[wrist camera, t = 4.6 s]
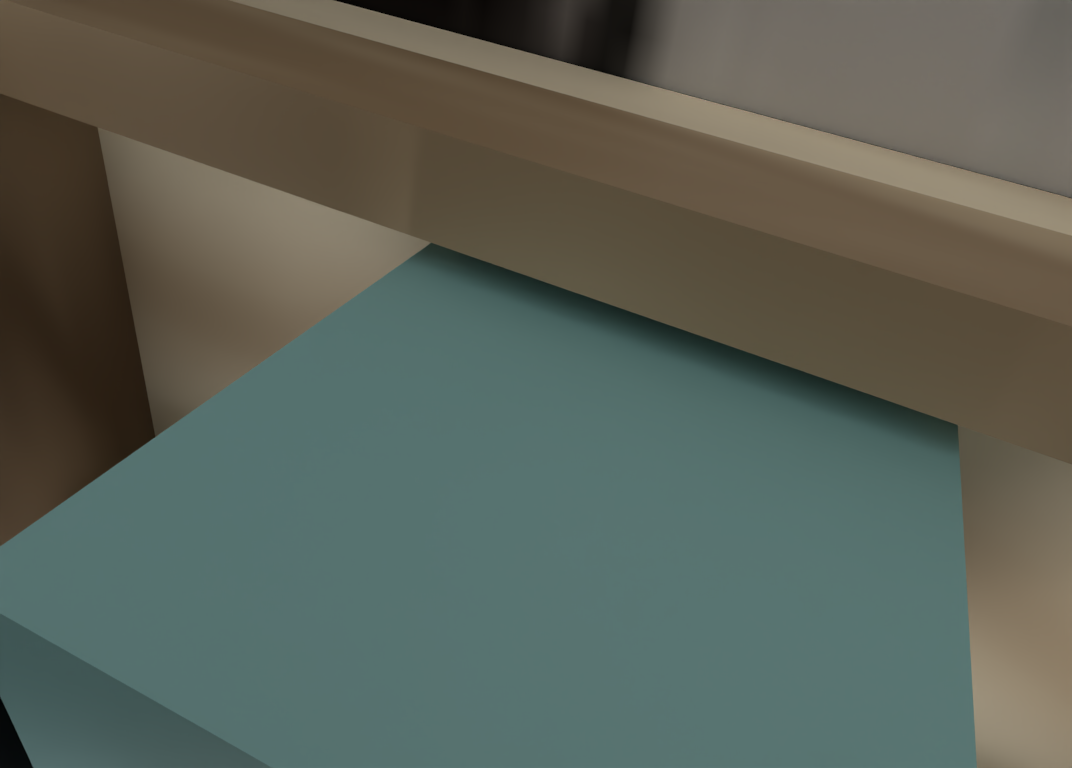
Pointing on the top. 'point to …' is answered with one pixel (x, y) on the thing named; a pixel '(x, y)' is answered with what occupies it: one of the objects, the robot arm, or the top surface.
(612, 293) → the channel
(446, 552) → the teal block
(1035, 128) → the top surface
